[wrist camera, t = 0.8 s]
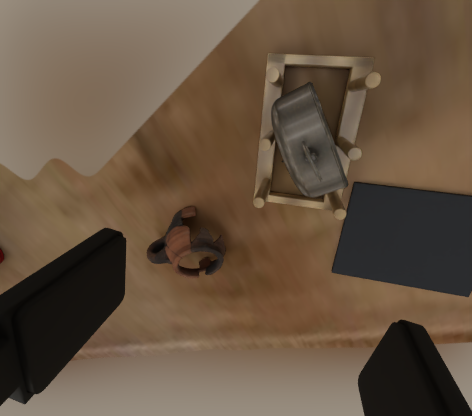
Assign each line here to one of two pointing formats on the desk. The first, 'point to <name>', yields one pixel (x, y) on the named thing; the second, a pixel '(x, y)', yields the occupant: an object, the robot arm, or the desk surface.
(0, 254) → the plastic cup
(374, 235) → the desk mat
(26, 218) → the desk surface
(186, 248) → the pottery mug
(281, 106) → the alarm clock
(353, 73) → the dowel rack
